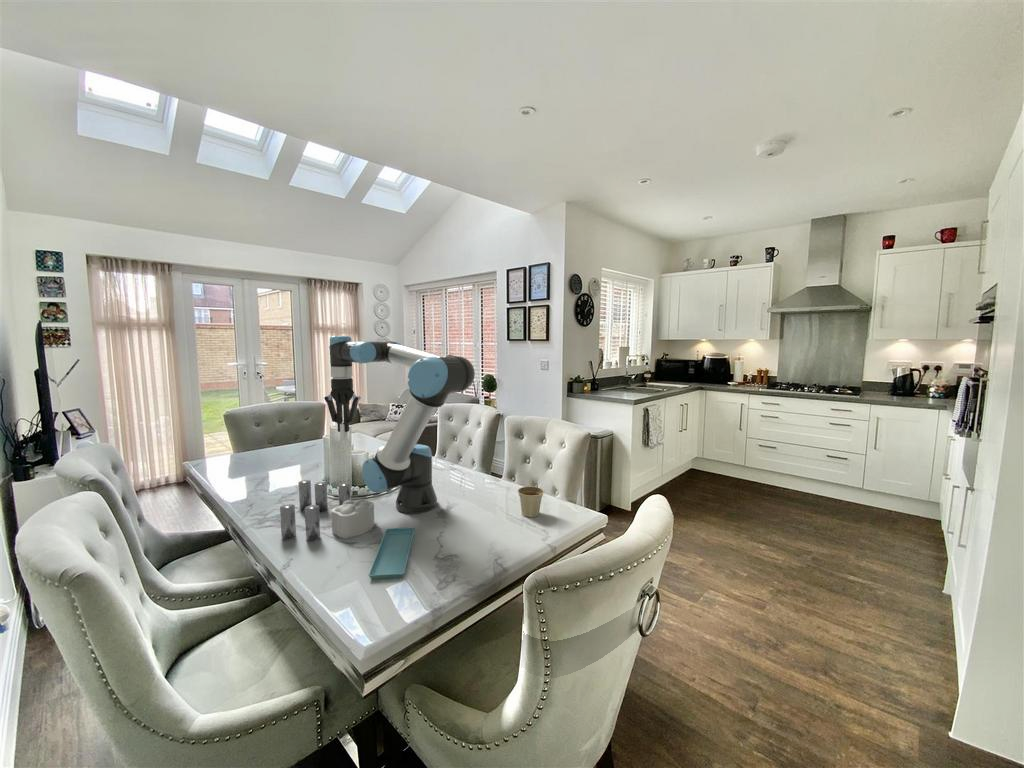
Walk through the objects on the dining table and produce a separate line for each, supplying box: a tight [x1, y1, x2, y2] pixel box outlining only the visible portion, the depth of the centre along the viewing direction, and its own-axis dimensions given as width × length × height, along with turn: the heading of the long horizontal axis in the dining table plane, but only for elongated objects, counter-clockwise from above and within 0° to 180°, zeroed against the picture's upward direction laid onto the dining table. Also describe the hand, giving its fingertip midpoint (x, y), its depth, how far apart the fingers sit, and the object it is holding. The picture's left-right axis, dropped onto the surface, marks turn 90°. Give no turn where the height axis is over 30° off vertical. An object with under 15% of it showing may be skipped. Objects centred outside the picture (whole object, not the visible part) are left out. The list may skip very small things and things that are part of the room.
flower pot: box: [517, 485, 545, 518], centre depth 148 cm, size 9×9×9 cm
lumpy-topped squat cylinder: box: [330, 498, 375, 539], centre depth 136 cm, size 10×13×9 cm
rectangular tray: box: [368, 526, 416, 581], centre depth 120 cm, size 26×9×2 cm, turn 7°
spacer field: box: [279, 479, 352, 542], centre depth 141 cm, size 20×26×10 cm
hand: (343, 440), depth 155 cm, fingers closed
